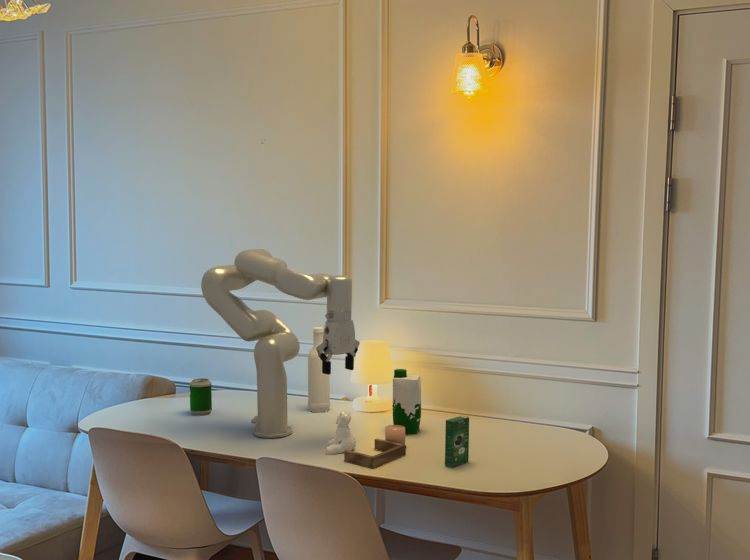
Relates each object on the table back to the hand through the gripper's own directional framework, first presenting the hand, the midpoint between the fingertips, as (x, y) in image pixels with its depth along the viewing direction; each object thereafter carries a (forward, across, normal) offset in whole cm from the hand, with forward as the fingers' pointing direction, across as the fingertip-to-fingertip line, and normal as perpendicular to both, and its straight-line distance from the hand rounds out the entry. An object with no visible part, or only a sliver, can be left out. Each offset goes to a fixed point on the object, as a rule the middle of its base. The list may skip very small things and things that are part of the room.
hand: (338, 371), depth 229 cm
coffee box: (+21, +8, -40) cm, 46 cm away
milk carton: (+22, +23, -8) cm, 33 cm away
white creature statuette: (+22, -5, -7) cm, 24 cm away
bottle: (+23, +22, +33) cm, 46 cm away
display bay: (+22, -4, -20) cm, 29 cm away
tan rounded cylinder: (+22, +8, -17) cm, 29 cm away
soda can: (+24, -10, +60) cm, 65 cm away
